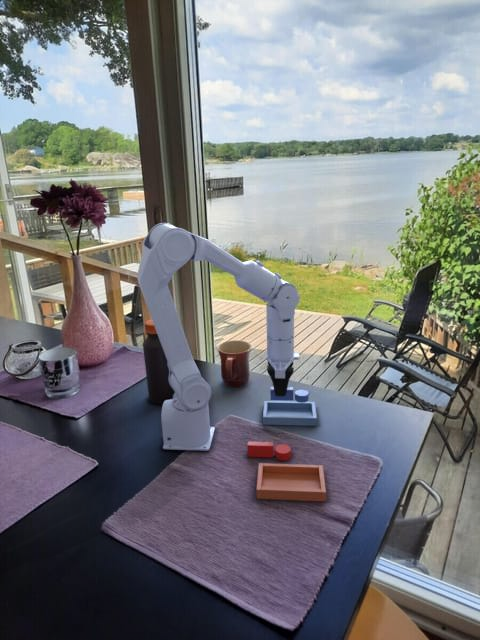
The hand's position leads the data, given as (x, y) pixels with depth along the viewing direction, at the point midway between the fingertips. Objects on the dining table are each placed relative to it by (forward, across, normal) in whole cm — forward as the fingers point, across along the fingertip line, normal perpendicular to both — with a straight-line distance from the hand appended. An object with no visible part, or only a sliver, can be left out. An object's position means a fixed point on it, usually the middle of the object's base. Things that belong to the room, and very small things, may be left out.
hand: (280, 393), depth 97 cm
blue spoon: (+1, 0, -2) cm, 2 cm away
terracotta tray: (+6, -23, -2) cm, 24 cm away
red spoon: (+6, -14, +2) cm, 16 cm away
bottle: (+6, +7, +29) cm, 30 cm away
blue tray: (+6, 0, -2) cm, 6 cm away
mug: (+6, +14, +12) cm, 20 cm away
